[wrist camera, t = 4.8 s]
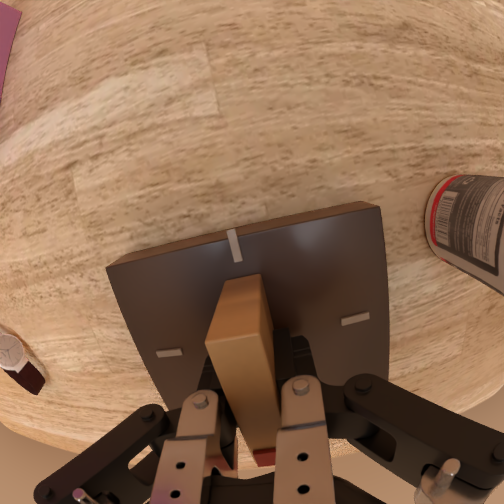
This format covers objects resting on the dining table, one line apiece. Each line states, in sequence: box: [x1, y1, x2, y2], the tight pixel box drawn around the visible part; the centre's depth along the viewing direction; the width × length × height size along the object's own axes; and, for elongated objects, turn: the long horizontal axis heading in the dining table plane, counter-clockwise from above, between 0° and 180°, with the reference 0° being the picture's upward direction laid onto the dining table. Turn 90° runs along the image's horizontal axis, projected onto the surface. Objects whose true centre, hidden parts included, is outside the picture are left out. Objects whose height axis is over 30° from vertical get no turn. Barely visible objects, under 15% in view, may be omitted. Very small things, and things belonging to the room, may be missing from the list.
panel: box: [106, 201, 390, 411], centre depth 14 cm, size 13×11×3 cm
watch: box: [0, 332, 45, 395], centre depth 16 cm, size 8×5×4 cm, turn 58°
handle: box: [205, 274, 281, 467], centre depth 11 cm, size 6×2×5 cm, turn 13°
